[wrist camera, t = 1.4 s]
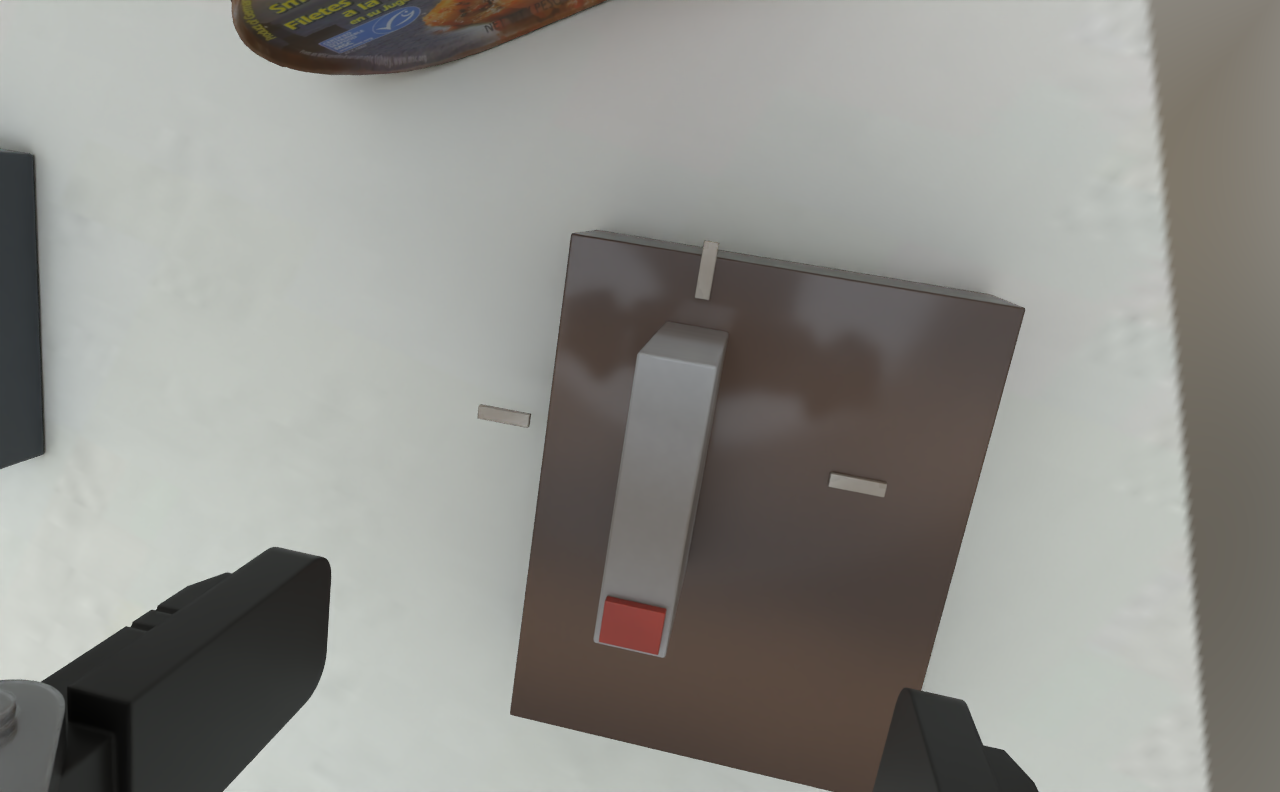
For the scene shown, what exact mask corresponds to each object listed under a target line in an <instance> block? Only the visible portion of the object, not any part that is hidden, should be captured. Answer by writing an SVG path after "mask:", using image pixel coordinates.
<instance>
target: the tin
mask: <svg viewBox="0 0 1280 792" xmlns="http://www.w3.org/2000/svg"><path fill="white" fill-rule="evenodd" d="M604 1H606V0H231V2H232V17H233V23H234V26H235V29H236V31H237V33H238V35H239V37H240V38H241V40H242V41H243V42H244V44H245V45H246V46H247V47H248V48H250V49H251V50H252V51H253V52H255V53H256V54H257V55H259V56H261V57H263V58H264V59H266V60H268V61H270V62H272V63H275V64H277V65H279V66H282V67H288V68H290V69H294V70H298V71H303V72H311V73H319V74H328V75H370V74H387V73H399V72H406V71H412V70H417V69H422V68H427V67H431V66H436V65H440V64H444V63H448V62H451V61H455V60H458V59H461V58H464V57H467V56H470V55H473V54H477V53H479V52H482V51H485V50H487V49H490V48H492V47H495V46H497V45H500V44H502V43H505V42H507V41H510V40H512V39H515V38H517V37H519V36H522V35H524V34H527V33H529V32H532V31H534V30H536V29H539V28H541V27H544V26H546V25H548V24H551V23H553V22H555V21H558V20H560V19H563V18H566V17H568V16H571V15H573V14H575V13H577V12H580V11H582V10H585V9H587V8H590V7H592V6H595V5H597V4H599V3H602V2H604Z"/></svg>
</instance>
